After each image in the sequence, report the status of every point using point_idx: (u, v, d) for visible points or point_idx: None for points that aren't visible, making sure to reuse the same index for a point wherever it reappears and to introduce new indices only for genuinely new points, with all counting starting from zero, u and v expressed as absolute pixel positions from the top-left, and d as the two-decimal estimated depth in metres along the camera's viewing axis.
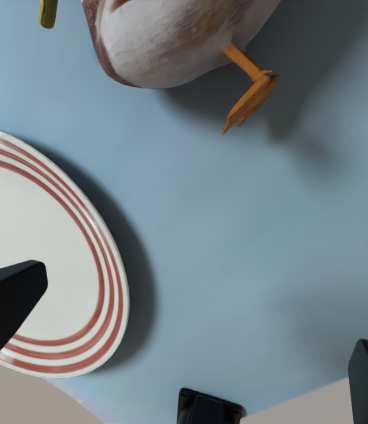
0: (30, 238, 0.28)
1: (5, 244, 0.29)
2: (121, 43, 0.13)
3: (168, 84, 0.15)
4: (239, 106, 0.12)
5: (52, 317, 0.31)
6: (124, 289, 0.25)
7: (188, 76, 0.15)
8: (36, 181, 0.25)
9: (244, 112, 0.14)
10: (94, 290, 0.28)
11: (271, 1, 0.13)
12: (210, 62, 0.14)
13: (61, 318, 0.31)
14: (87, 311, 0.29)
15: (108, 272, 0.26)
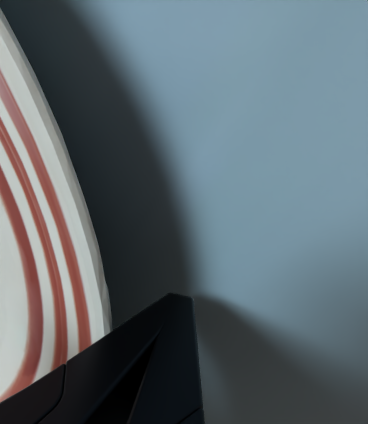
0: None
1: None
2: None
3: None
4: None
5: None
6: (92, 297, 0.07)
7: None
8: None
9: None
10: (17, 300, 0.10)
11: None
12: None
13: None
14: (8, 356, 0.11)
15: (43, 240, 0.08)
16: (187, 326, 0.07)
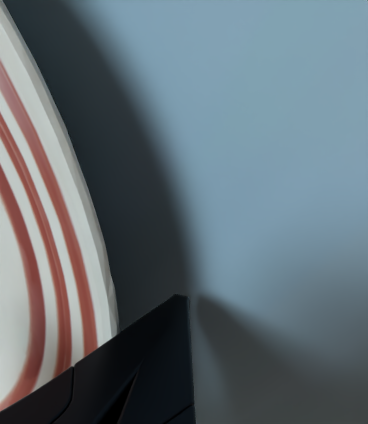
0: None
1: None
2: None
3: None
4: None
5: None
6: (98, 294, 0.06)
7: None
8: None
9: None
10: (18, 302, 0.10)
11: None
12: None
13: None
14: (9, 359, 0.11)
15: (45, 239, 0.08)
16: (181, 324, 0.07)
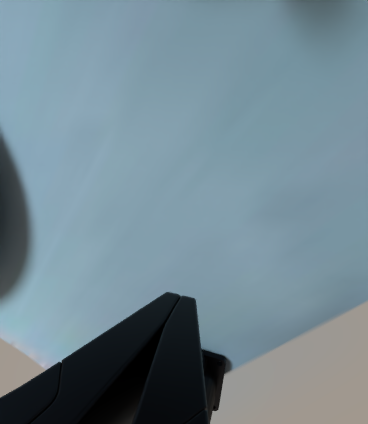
0: None
1: None
2: None
3: None
4: None
5: None
6: None
7: None
8: None
9: None
10: None
11: None
12: None
13: None
14: None
15: None
16: (190, 327, 0.07)
